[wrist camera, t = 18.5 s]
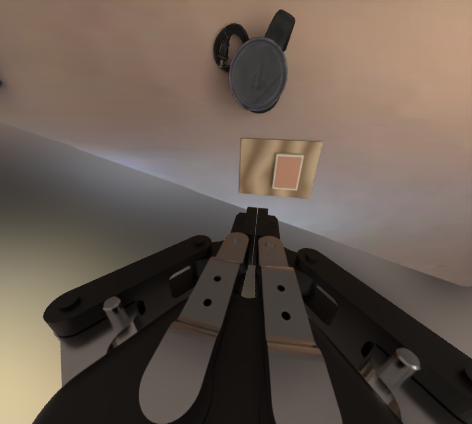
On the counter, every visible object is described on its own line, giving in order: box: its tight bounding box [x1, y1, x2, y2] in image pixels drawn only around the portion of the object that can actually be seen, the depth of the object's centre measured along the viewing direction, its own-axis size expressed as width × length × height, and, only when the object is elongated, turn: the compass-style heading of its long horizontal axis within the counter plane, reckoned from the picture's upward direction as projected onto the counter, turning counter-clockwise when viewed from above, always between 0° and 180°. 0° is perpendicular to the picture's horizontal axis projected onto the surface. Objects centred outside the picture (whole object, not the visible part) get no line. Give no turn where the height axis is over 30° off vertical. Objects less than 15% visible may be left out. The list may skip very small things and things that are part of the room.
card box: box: [272, 153, 304, 190], centre depth 45 cm, size 3×9×6 cm
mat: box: [239, 138, 323, 199], centre depth 47 cm, size 20×15×1 cm
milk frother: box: [214, 10, 295, 113], centre depth 32 cm, size 14×16×15 cm
